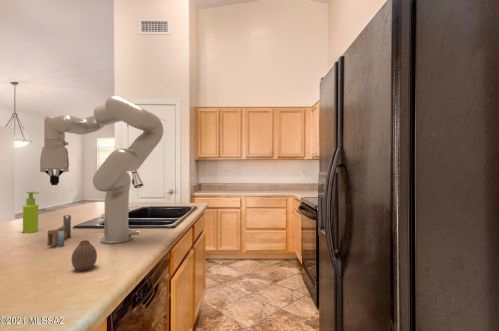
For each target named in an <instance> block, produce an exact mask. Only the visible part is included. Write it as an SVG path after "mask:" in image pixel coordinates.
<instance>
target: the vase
mask: <svg viewBox="0 0 499 331" xmlns="http://www.w3.org/2000/svg"><path fill="white" fill-rule="evenodd" d="M97 258H98V253H97V250H96V248H95V246H93V244H92V243H91V242H90V240H87V239H84V240H81V241H80V242H79V243H78V245H77V246H76V247H75V249H74V250H73V252H72V254H71V264H72V267H73V268H74V269H75V270H76V271H77V272H84V271H88V270H91V269H92V268H93V267H94V266H95V264H96V262H97Z"/></svg>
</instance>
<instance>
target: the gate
mask: <svg viewBox="0 0 499 331" xmlns="http://www.w3.org/2000/svg"><path fill="white" fill-rule="evenodd" d="M59 231H64V239H67V238H66V237H67V225H64V226H63V225H61V226H60V227H58V228H56V229H49V230H47V247H51V246H56V244H58V232H59Z"/></svg>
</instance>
